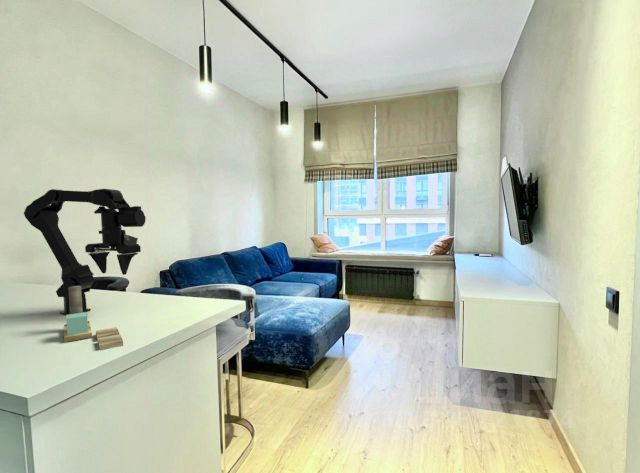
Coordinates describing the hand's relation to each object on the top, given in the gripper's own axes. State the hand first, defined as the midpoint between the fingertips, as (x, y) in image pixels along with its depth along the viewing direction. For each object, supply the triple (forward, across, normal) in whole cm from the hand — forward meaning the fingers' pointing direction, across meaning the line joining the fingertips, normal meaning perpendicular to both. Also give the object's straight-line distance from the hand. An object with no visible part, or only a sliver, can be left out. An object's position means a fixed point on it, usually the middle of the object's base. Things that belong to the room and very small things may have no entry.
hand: (114, 273), depth 118 cm
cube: (+12, -11, +21) cm, 27 cm away
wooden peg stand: (+13, -9, +19) cm, 25 cm away
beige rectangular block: (+13, -22, +20) cm, 33 cm away
